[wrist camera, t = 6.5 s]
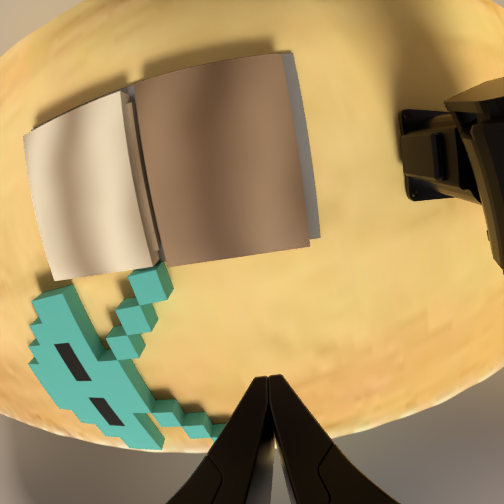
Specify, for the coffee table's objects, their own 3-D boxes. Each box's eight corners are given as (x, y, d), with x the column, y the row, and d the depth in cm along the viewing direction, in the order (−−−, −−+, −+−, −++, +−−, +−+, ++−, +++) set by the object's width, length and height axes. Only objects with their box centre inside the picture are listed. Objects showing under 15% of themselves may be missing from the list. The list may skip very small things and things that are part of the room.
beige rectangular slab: (134, 93, 16) (125, 88, 14) (164, 258, 19) (158, 265, 18) (34, 136, 16) (23, 135, 15) (64, 274, 20) (54, 281, 18)
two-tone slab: (292, 54, 15) (295, 44, 14) (319, 236, 19) (325, 244, 17) (33, 130, 16) (19, 130, 15) (63, 275, 20) (51, 283, 18)
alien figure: (165, 258, 20) (10, 300, 22) (155, 270, 18) (-2, 309, 20) (240, 431, 26) (94, 431, 28) (239, 446, 24) (89, 443, 26)
